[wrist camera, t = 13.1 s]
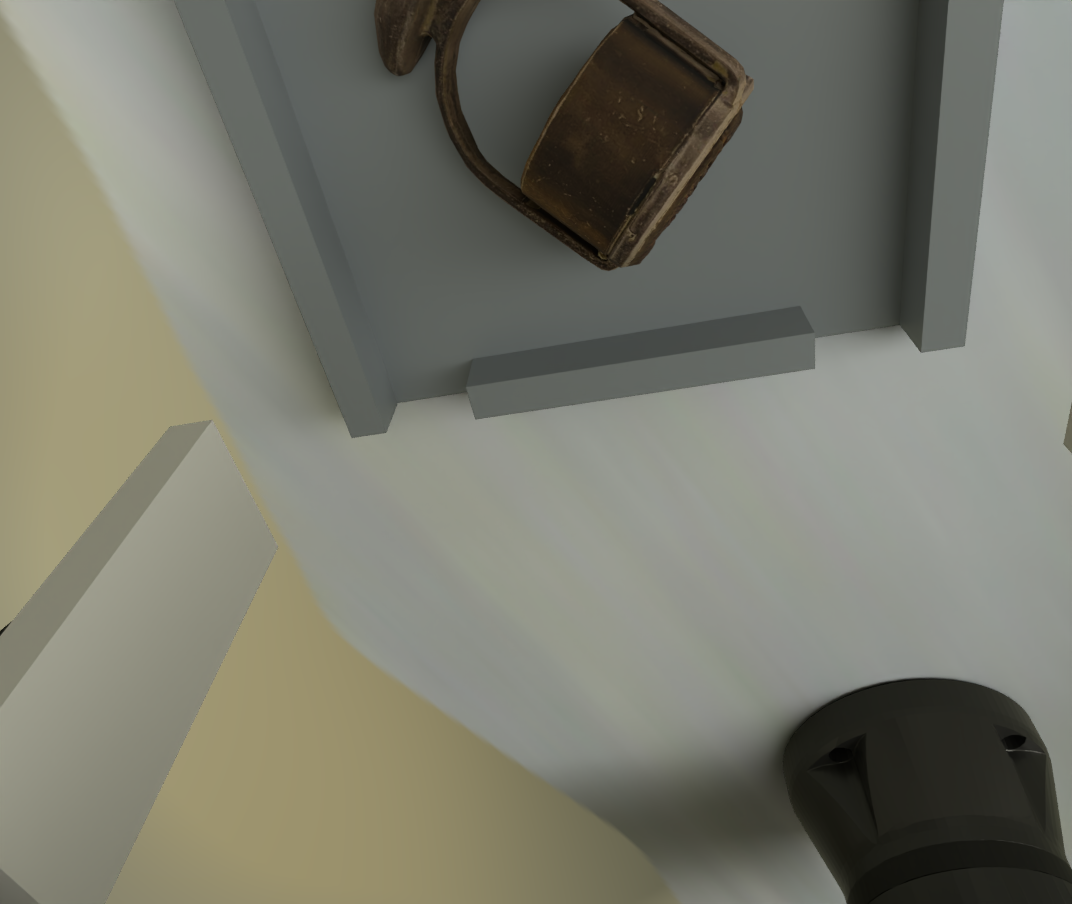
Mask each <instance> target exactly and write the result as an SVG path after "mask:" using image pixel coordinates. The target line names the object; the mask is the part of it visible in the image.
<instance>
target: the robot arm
mask: <svg viewBox="0 0 1072 904" xmlns="http://www.w3.org/2000/svg"><path fill="white" fill-rule="evenodd" d="M1064 445H1065V446H1066V447H1067V449H1068V450H1069V451H1070V452H1071V453H1072V404H1071V409H1070V414H1069V419H1068V424H1067V429H1066V434H1065V439H1064ZM277 548H278V545H277V544H276V541H275V540H274V538H273V536H272V534H271V532H270V530H269V528H268V526H267V524H266V522H265V520H264V518H263V516H262V515H261V512H260V511H259V509H258V507H257V505H256V503H255V501H254V499H253V497H252V495H251V493H250V491H249V489H248V488H247V485H246V484H245V482H244V480H243V478H242V476H241V474H240V472H239V470H238V468H237V466H236V464H235V462H234V460H233V458H232V457H231V455H230V453H229V451H228V449H227V447H226V445H225V443H224V441H223V439H222V437H221V435H220V433H219V432H218V430H217V428H216V426H215V424H214V422H213V420H209V421H203V422H196V423H190V424H184V425H178V426H171V427H169V428H168V430H167V431H166V432H165V433H164V435H163V436H162V437H161V438H160V440H159V441H158V442H157V443H156V444H155V446H154V447H153V448H152V450H151V451H150V452H149V453H148V454H147V456H146V457H145V458H144V459H143V461H142V462H141V463H140V464H139V466H138V467H137V468H136V469H135V470H134V472H133V473H132V474H131V475H130V477H129V478H128V479H127V480H126V482H125V483H124V484H123V485H122V486H121V488H120V489H119V490H118V491H117V493H116V494H115V495H114V496H113V497H112V499H111V500H110V501H109V502H108V504H107V505H106V506H105V507H104V509H103V510H102V511H101V512H100V514H99V515H98V516H97V517H96V519H95V520H94V521H93V522H92V523H91V525H90V526H89V527H88V528H87V530H86V531H85V532H84V533H83V535H82V536H81V537H80V538H79V540H78V541H77V542H76V543H75V544H74V546H73V547H72V548H71V549H70V551H69V552H68V553H67V554H66V555H65V557H64V558H63V559H62V560H61V562H60V563H59V564H58V565H57V567H56V568H55V569H54V570H53V572H52V573H51V574H50V575H49V576H48V578H47V579H46V580H45V582H44V583H43V584H42V585H41V586H40V588H39V589H38V590H37V591H36V592H35V594H34V595H33V596H32V598H31V599H30V600H29V601H28V602H27V604H26V605H25V606H24V607H23V609H22V610H21V611H20V612H19V613H18V615H17V616H16V617H15V619H14V620H13V621H12V622H10V623H9V624H8V625H7V626H5V627H4V628H3V629H2V630H1V631H0V904H105V902H106V900H107V898H108V896H109V894H110V892H111V890H112V888H113V886H114V884H115V882H116V880H117V878H118V876H119V874H120V872H121V869H122V867H123V865H124V863H125V861H126V859H127V857H128V855H129V853H130V851H131V849H132V847H133V845H134V843H135V841H136V839H137V836H138V834H139V832H140V830H141V828H142V826H143V824H144V822H145V820H146V818H147V816H148V814H149V812H150V810H151V808H152V806H153V804H154V801H155V799H156V797H157V795H158V793H159V791H160V789H161V787H162V785H163V783H164V781H165V779H166V777H167V775H168V773H169V771H170V769H171V767H172V764H173V762H174V760H175V758H176V756H177V754H178V752H179V750H180V748H181V746H182V744H183V742H184V740H185V738H186V736H187V733H188V732H189V729H190V727H191V725H192V723H193V721H194V719H195V717H196V715H197V713H198V711H199V709H200V707H201V705H202V703H203V701H204V698H205V697H206V694H207V692H208V690H209V688H210V686H211V684H212V682H213V680H214V678H215V676H216V674H217V672H218V670H219V668H220V666H221V663H222V661H223V659H224V657H225V655H226V653H227V651H228V649H229V647H230V645H231V643H232V641H233V639H234V636H235V635H236V632H237V631H238V629H239V626H240V624H241V622H242V620H243V618H244V616H245V614H246V612H247V610H248V608H249V606H250V604H251V602H252V600H253V598H254V596H255V594H256V591H257V589H258V587H259V585H260V583H261V581H262V579H263V577H264V575H265V573H266V571H267V569H268V567H269V564H270V563H271V560H272V559H273V556H274V554H275V552H276V550H277ZM783 771H784V776H785V780H786V784H787V789H788V793H789V797H790V801H791V804H792V807H793V809H794V812H795V814H796V816H797V817H798V819H799V821H800V822H801V824H802V826H803V827H804V829H805V831H806V832H807V834H808V836H809V837H810V839H811V841H812V842H813V844H814V845H815V847H816V849H817V850H818V852H819V854H820V855H821V857H822V859H823V860H824V862H825V864H826V865H827V867H828V869H829V870H830V872H831V874H832V875H833V877H834V879H835V880H836V882H837V883H838V885H839V887H840V888H841V890H842V892H843V894H844V896H845V900H846V903H847V904H1072V869H1071V867H1070V865H1069V863H1068V861H1067V858H1066V855H1065V850H1064V843H1063V836H1062V830H1061V823H1060V816H1059V810H1058V803H1057V797H1056V790H1055V783H1054V777H1053V770H1052V764H1051V759H1050V757H1049V754H1048V751H1047V748H1046V746H1045V745H1044V743H1043V741H1042V739H1041V737H1040V735H1039V734H1038V732H1037V730H1036V728H1035V726H1034V724H1033V723H1032V721H1031V719H1030V717H1029V716H1028V714H1027V713H1026V712H1025V710H1024V709H1023V708H1022V707H1021V706H1020V705H1018V704H1017V703H1016V702H1015V701H1013V700H1012V699H1010V698H1009V697H1007V696H1005V695H1004V694H1001V693H999V692H997V691H995V690H992V689H990V688H987V687H984V686H980V685H976V684H972V683H967V682H961V681H953V680H934V679H932V680H912V681H903V682H896V683H890V684H885V685H881V686H877V687H873V688H870V689H866V690H863V691H860V692H857V693H854V694H852V695H849V696H847V697H844V698H842V699H840V700H838V701H836V702H834V703H832V704H830V705H829V706H827V707H825V708H824V709H822V710H820V711H819V712H818V713H816V714H815V715H813V716H812V717H811V718H810V719H808V720H807V721H806V722H805V723H804V724H803V725H802V726H801V727H800V728H799V729H798V730H797V731H796V733H795V734H794V735H793V737H792V738H791V740H790V742H789V743H788V745H787V748H786V750H785V754H784V758H783Z"/></svg>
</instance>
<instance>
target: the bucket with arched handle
mask: <svg viewBox="0 0 1072 904" xmlns="http://www.w3.org/2000/svg"><path fill="white" fill-rule="evenodd" d="M480 1H481V0H376V4H375V10H374V18H375V26H376V34H377V42H378V50H379V54H380V56H381V58H382V61H383V63H384V66H385V67H386V68H387V69H388V70H389V72H390V73H392V74H394V75H396V76H403V75H406V74H409V73H411V72H412V70H413V69H414V67H415V66H416V64H417V63H418V61H419V60H420V58H421V57H422V55H423V54H424V52H425V50H426V48H427V46H428V45H429V43H430V41H431V39H432V38H433V39H434V41H435V43H436V51H435V61H434V68H435V94H436V98H437V101H438V105H439V108H440V112H441V115H442V119H443V122H444V125H445V127H446V130H447V132H448V135H449V137H450V139H451V141H452V143H453V144H454V146H455V148H456V149H457V151H458V153H459V155H460V156H461V158H462V160H463V161H464V163H465V165H466V167H467V168H468V169H469V170H470V171H471V172H472V173H473V174H474V175H475V176H476V177H477V178H478V180H479V181H480V182H481V183H482V184H483V185H484V186H485V187H487V188H488V189H489V190H490V191H492V192H493V193H494V194H495V195H497V196H498V197H499V198H500V199H502V200H503V201H505V202H506V203H507V204H509V205H510V206H511V207H513V208H514V209H516V210H517V211H518V212H520V213H521V214H523V215H524V216H525V217H527V218H528V219H530V220H531V221H532V222H534V223H535V224H536V225H538V226H539V227H541V228H542V229H543V230H545V231H546V232H548V233H549V234H550V235H552V236H553V237H555V238H556V239H557V240H559V241H560V242H562V243H563V244H564V245H566V246H567V247H569V248H570V249H572V250H573V251H574V252H576V253H577V254H579V255H580V256H581V257H583V258H584V259H586V260H587V261H589V262H590V263H592V264H593V265H595V266H596V267H598V268H600V269H601V270H605V271H611V270H615V269H617V268H618V267H620V268H622V267H628V266H634V265H638V264H640V263H641V262H642V260H643V259H644V258H645V257H646V256H647V255H648V254H649V253H650V251H651V250H652V248H653V247H654V245H655V242H656V240H657V238H658V237H659V236H660V235H661V233H662V232H663V231H664V230H665V229H666V228H667V227H668V226H669V225H670V223H671V222H672V221H673V220H674V219H675V217H676V214H678V213H679V211H681V209H682V208H683V206H684V205H685V204H686V202H687V201H688V197H690V196H691V195H692V194H693V192H694V191H695V189H696V188H697V185H698V183H699V182H700V181H701V180H702V179H703V177H704V176H705V175H706V174H707V172H708V170H709V168H710V167H711V166H712V164H713V162H714V161H715V160H716V158H717V156H718V155H719V153H720V152H721V151H722V149H723V147H724V146H725V145H726V144H727V143H728V142H729V141H730V139H731V138H732V136H733V135H734V133H735V132H736V130H737V128H738V127H739V126H740V124H741V121H742V116H743V109H742V106H743V104H744V103H745V101H746V100H747V98H748V97H749V95H750V94H751V92H752V91H753V89H754V79H753V78H751V77H750V76H748V75H746V74H745V71H744V67H743V66H742V65H741V64H740V63H739V62H738V60H737V59H736V58H734V57H733V56H732V55H730V54H729V53H728V52H726V51H725V50H724V49H722V48H721V47H720V46H718V45H717V44H716V43H714V42H713V41H712V40H710V39H709V38H708V37H706V36H705V35H704V34H702V33H701V32H700V31H698V30H697V29H696V28H694V27H693V26H692V25H690V24H689V23H688V22H686V21H685V20H684V19H682V18H681V17H680V16H678V15H677V14H676V13H674V12H673V11H672V10H670V9H669V8H668V7H666V6H665V5H664V4H662V3H661V2H660V1H658V0H619V1H620V2H622V3H623V4H625V5H626V6H628V7H629V8H630V9H632V10H633V11H634V13H633V14H632V15H629V16H627V17H624V18H623V19H622V20H621V22H620V23H619V24H618V25H617V26H615V27H614V28H612V29H611V30H610V31H609V33H608V34H607V35H606V36H605V37H604V39H603V40H602V41H601V42H600V44H599V45H598V46H597V48H596V49H595V51H594V52H593V53H592V55H591V56H590V57H589V59H588V60H587V61H586V63H585V64H584V65H583V67H582V68H581V69H580V71H579V72H578V74H577V75H576V77H575V78H574V80H573V81H572V82H571V84H570V85H569V86H568V88H567V89H566V91H565V92H564V93H563V95H562V96H561V97H560V99H559V101H558V102H557V104H556V106H555V107H554V109H553V111H552V112H551V114H550V116H549V118H548V120H547V122H546V124H545V126H544V128H543V130H542V132H541V135H540V137H539V138H538V140H537V142H536V144H535V145H534V147H533V149H532V151H531V153H530V155H529V157H528V159H527V161H526V164H525V167H524V170H523V173H522V177H521V183H520V186H521V188H519V187H518V186H517V185H515V184H514V183H512V182H511V181H510V180H508V179H507V178H505V177H504V176H503V175H502V174H501V173H500V172H499V171H497V170H496V169H495V168H494V167H493V166H492V165H491V164H490V163H489V162H488V161H487V160H486V159H485V157H484V156H483V155H482V153H481V152H480V151H479V149H478V146H477V144H476V142H475V139H474V137H473V135H472V133H471V130H470V128H469V126H468V123H467V121H466V119H465V117H464V114H463V112H462V110H461V105H460V99H459V94H458V86H457V76H456V66H457V60H458V53H459V46H460V41H461V39H462V36H463V34H464V31H465V28H466V26H467V24H468V21H469V20H470V18H471V16H472V14H473V13H474V11H475V9H476V7H477V5H478V4H479V2H480Z"/></svg>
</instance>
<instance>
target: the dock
mask: <svg viewBox="0 0 1072 904" xmlns="http://www.w3.org/2000/svg"><path fill="white" fill-rule="evenodd" d="M658 1H660V2H661V3H662V4H664V5H665V6H666V7H668V8H669V9H670V10H672V11H673V12H674V13H676V14H677V15H678V16H680V17H681V18H682V19H684V20H685V21H686V22H688V23H689V24H690V25H692V26H693V27H694V28H696V29H697V30H698V31H700V32H701V33H702V34H704V35H705V36H706V37H708V38H709V39H710V40H712V41H713V42H714V43H716V44H717V45H718V46H720V47H721V48H722V49H724V50H725V51H726V52H728V53H729V54H730V55H732V56H733V57H734V58H736V59H737V60H738V62H739V63H740V64H741V65H742V66H743V67H744V71H745V74H746V75H748V76H750V77H751V78H753V79H754V89H753V91H752V92H751V94H750V95H749V97H748V98H747V100H746V101H745V103H744V104H743V106H742V109H743V116H742V121H741V124H740V126H739V127H738V128H737V130H736V132H735V133H734V135H733V136H732V138H731V139H730V141H729V142H728V143H727V144H726V145H725V146H724V147H723V149H722V151H721V152H720V153H719V155H718V156H717V158H716V160H715V161H714V162H713V164H712V166H711V167H710V168H709V170H708V172H707V174H706V175H705V176H704V177H703V179H702V180H701V181H700V182H699V183H698V185H697V188H696V189H695V191H694V192H693V194H692V195H691V196H690V197H688V201H687V202H686V204H685V205H684V206H683V208H682V209H681V211H679V213H678V214H676V217H675V219H674V220H673V221H672V222H671V223H670V225H669V226H668V227H667V228H666V229H665V230H664V231H663V232H662V233H661V235H660V236H659V237H658V238H657V240H656V242H655V245H654V247H653V248H652V250H651V251H650V253H649V254H648V255H647V256H646V257H645V258H644V259H643V260H642V262H641V263H640V264H638V265H634V266H628V267H622V268H620V267H618V268H617V269H615V270H611V271H605V270H601V269H600V268H598V267H596V266H595V265H593V264H592V263H590V262H589V261H587V260H586V259H584V258H583V257H581V256H580V255H579V254H577V253H576V252H574V251H573V250H572V249H570V248H569V247H567V246H566V245H564V244H563V243H562V242H560V241H559V240H557V239H556V238H555V237H553V236H552V235H550V234H549V233H548V232H546V231H545V230H543V229H542V228H541V227H539V226H538V225H536V224H535V223H534V222H532V221H531V220H530V219H528V218H527V217H525V216H524V215H523V214H521V213H520V212H518V211H517V210H516V209H514V208H513V207H511V206H510V205H509V204H507V203H506V202H505V201H503V200H502V199H500V198H499V197H498V196H497V195H495V194H494V193H493V192H492V191H490V190H489V189H488V188H487V187H485V186H484V185H483V184H482V183H481V182H480V181H479V180H478V178H477V177H476V176H475V175H474V174H473V173H472V172H471V171H470V170H469V169H468V168H467V167H466V165H465V163H464V161H463V160H462V158H461V156H460V155H459V153H458V151H457V149H456V148H455V146H454V144H453V143H452V141H451V139H450V137H449V135H448V132H447V130H446V127H445V125H444V122H443V119H442V115H441V112H440V108H439V105H438V101H437V98H436V94H435V68H434V61H435V51H436V43H435V41H434V39H433V38H432V39H431V41H430V43H429V45H428V46H427V48H426V50H425V52H424V54H423V55H422V57H421V58H420V60H419V61H418V63H417V64H416V66H415V67H414V69H413V70H412V72H411V73H409V74H406V75H403V76H396V75H394V74H392V73H390V72H389V70H388V69H387V68H386V67H385V66H384V63H383V61H382V58H381V56H380V54H379V50H378V42H377V34H376V26H375V18H374V10H375V4H376V0H174V2H175V4H176V7H177V9H178V11H179V14H180V16H181V19H182V21H183V24H184V26H185V29H186V31H187V34H188V36H189V39H190V41H191V43H192V46H193V48H194V51H195V53H196V56H197V58H198V61H199V63H200V66H201V68H202V71H203V73H204V75H205V78H206V80H207V83H208V85H209V88H210V90H211V93H212V95H213V98H214V100H215V103H216V105H217V107H218V110H219V112H220V115H221V117H222V120H223V122H224V125H225V127H226V130H227V132H228V135H229V137H230V139H231V142H232V144H233V147H234V149H235V152H236V154H237V157H238V159H239V162H240V164H241V167H242V169H243V171H244V174H245V176H246V179H247V181H248V184H249V186H250V189H251V191H252V194H253V196H254V199H255V201H256V203H257V206H258V208H259V211H260V213H261V216H262V218H263V221H264V223H265V226H266V228H267V231H268V233H269V236H270V238H271V240H272V243H273V245H274V248H275V250H276V253H277V255H278V258H279V260H280V263H281V265H282V268H283V270H284V272H285V275H286V277H287V280H288V282H289V285H290V287H291V290H292V292H293V295H294V297H295V300H296V302H297V304H298V307H299V309H300V312H301V314H302V317H303V319H304V322H305V324H306V327H307V329H308V332H309V334H310V336H311V339H312V341H313V344H314V346H315V349H316V351H317V354H318V356H319V359H320V361H321V364H322V366H323V368H324V371H325V373H326V376H327V378H328V381H329V383H330V386H331V388H332V391H333V393H334V396H335V398H336V400H337V403H338V405H339V408H340V410H341V413H342V415H343V418H344V420H345V423H346V425H347V428H348V430H349V432H350V435H351V437H352V438H355V437H361V436H368V435H375V434H381V433H386V432H387V430H388V427H389V424H390V422H391V419H392V417H393V414H394V411H395V409H396V406H397V403H400V402H407V401H413V400H419V399H426V398H432V397H439V396H445V395H452V394H458V393H464V392H467V393H468V396H469V400H470V403H471V407H472V410H473V413H474V417H475V419H482V418H488V417H495V416H502V415H508V414H515V413H522V412H528V411H535V410H542V409H548V408H555V407H562V406H568V405H575V404H582V403H588V402H595V401H602V400H608V399H615V398H622V397H629V396H635V395H642V394H649V393H655V392H662V391H669V390H675V389H682V388H689V387H695V386H702V385H709V384H715V383H722V382H729V381H735V380H742V379H749V378H755V377H762V376H769V375H776V374H782V373H789V372H796V371H802V370H809V369H815V338H818V337H824V336H831V335H837V334H844V333H850V332H856V331H863V330H869V329H876V328H882V327H889V326H895V325H900V326H901V327H902V328H903V330H904V331H905V332H906V334H907V335H908V336H909V337H910V339H911V340H912V341H913V343H914V344H915V345H916V347H917V348H918V349H919V351H920V352H921V353H923V352H929V351H936V350H943V349H949V348H956V347H963V346H965V339H966V330H967V322H968V313H969V304H970V295H971V286H972V277H973V268H974V260H975V251H976V242H977V233H978V224H979V215H980V206H981V198H982V189H983V180H984V171H985V162H986V153H987V144H988V136H989V127H990V118H991V109H992V100H993V91H994V82H995V73H996V65H997V56H998V47H999V38H1000V29H1001V20H1002V11H1003V3H1004V0H658ZM633 13H634V11H633V10H632V9H630V8H629V7H628V6H626V5H625V4H623V3H622V2H620V1H619V0H481V1H480V2H479V4H478V5H477V7H476V9H475V11H474V13H473V14H472V16H471V18H470V20H469V21H468V24H467V26H466V28H465V31H464V34H463V36H462V39H461V41H460V46H459V53H458V60H457V66H456V76H457V86H458V94H459V99H460V105H461V110H462V112H463V114H464V117H465V119H466V121H467V123H468V126H469V128H470V130H471V133H472V135H473V137H474V139H475V142H476V144H477V146H478V149H479V151H480V152H481V153H482V155H483V156H484V157H485V159H486V160H487V161H488V162H489V163H490V164H491V165H492V166H493V167H494V168H495V169H496V170H497V171H499V172H500V173H501V174H502V175H503V176H504V177H505V178H507V179H508V180H510V181H511V182H512V183H514V184H515V185H517V186H518V187H519V188H521V186H520V183H521V177H522V173H523V170H524V167H525V164H526V161H527V159H528V157H529V155H530V153H531V151H532V149H533V147H534V145H535V144H536V142H537V140H538V138H539V137H540V135H541V132H542V130H543V128H544V126H545V124H546V122H547V120H548V118H549V116H550V114H551V112H552V111H553V109H554V107H555V106H556V104H557V102H558V101H559V99H560V97H561V96H562V95H563V93H564V92H565V91H566V89H567V88H568V86H569V85H570V84H571V82H572V81H573V80H574V78H575V77H576V75H577V74H578V72H579V71H580V69H581V68H582V67H583V65H584V64H585V63H586V61H587V60H588V59H589V57H590V56H591V55H592V53H593V52H594V51H595V49H596V48H597V46H598V45H599V44H600V42H601V41H602V40H603V39H604V37H605V36H606V35H607V34H608V33H609V31H610V30H611V29H612V28H614V27H615V26H617V25H618V24H619V23H620V22H621V20H622V19H623V18H624V17H627V16H629V15H632V14H633Z"/></svg>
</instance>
